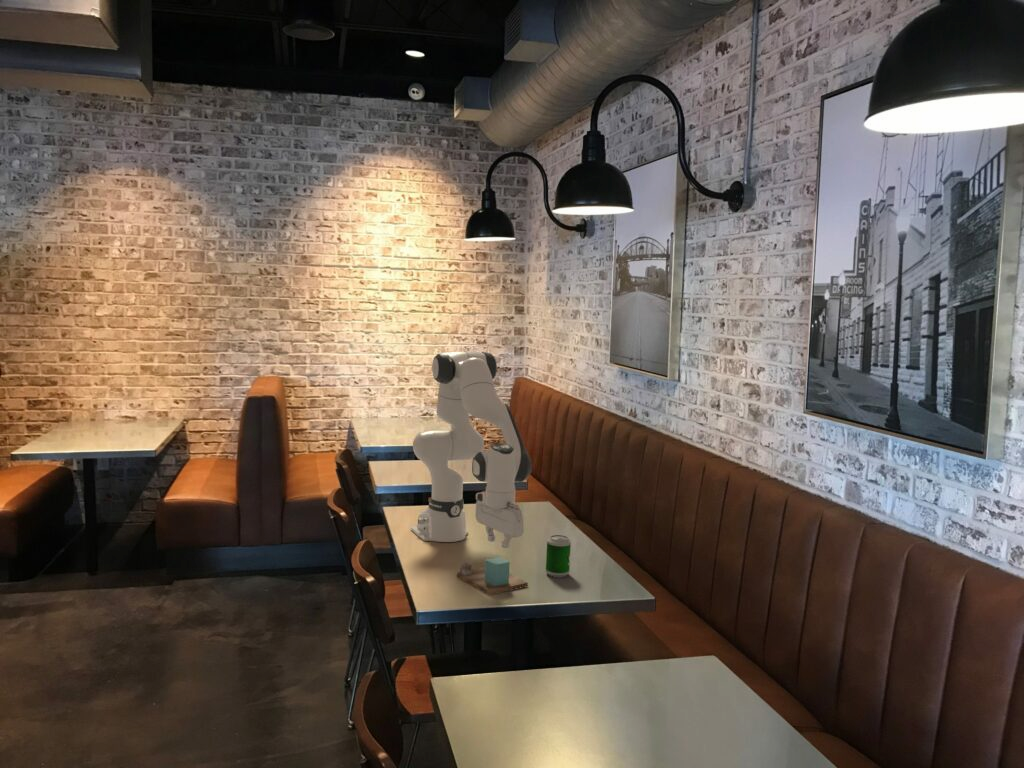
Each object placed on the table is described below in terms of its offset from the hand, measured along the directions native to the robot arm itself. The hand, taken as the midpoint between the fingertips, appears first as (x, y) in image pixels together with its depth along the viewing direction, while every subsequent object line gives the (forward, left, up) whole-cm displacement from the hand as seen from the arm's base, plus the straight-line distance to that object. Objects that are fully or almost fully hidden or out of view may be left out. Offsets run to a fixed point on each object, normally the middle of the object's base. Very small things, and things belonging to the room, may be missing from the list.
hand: (498, 544), depth 242 cm
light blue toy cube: (0, 0, -12) cm, 12 cm away
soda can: (+1, +23, -13) cm, 27 cm away
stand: (-4, +1, -13) cm, 14 cm away
